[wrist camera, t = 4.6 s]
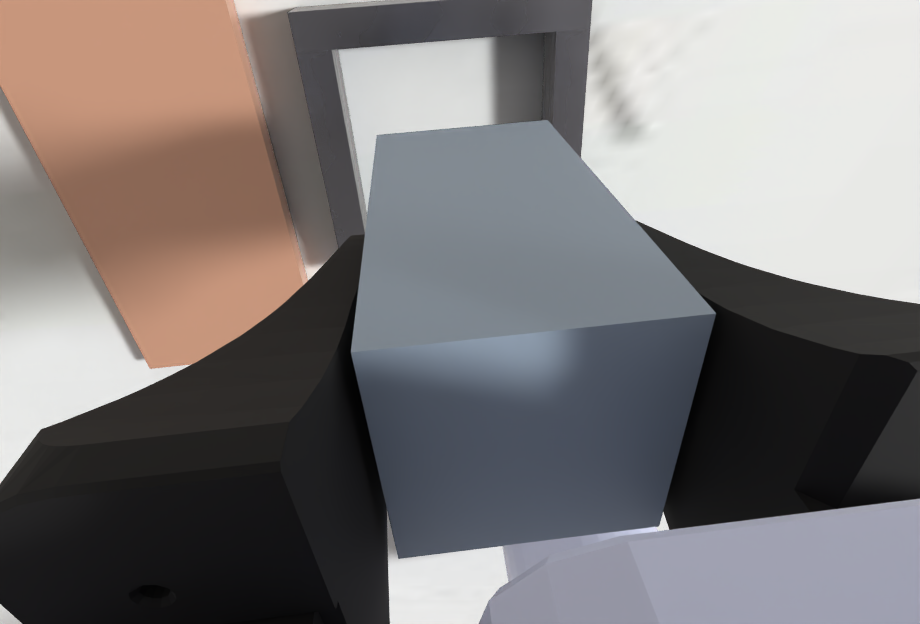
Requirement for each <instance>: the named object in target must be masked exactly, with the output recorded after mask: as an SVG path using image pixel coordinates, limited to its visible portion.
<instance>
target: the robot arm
mask: <svg viewBox="0 0 920 624" xmlns="http://www.w3.org/2000/svg"><path fill="white" fill-rule="evenodd" d="M635 221H636V220H635ZM636 222H637V223H638V224H639V226H640V227H641V228H642V229H643V230H644V231H645V232H646V234H647V235H648V236H649V237H650V238H651V239H652V240H653V242H654V243H655V244H656V245H657V246H658V247H659V248H660V250H661V251H662V252H663V253H664V254H665V255H666V256H667V258H668V259H669V260H670V261H671V262H672V263H673V264H674V266H675V267H676V268H677V269H678V270H679V271H680V273H681V274H682V275H683V276H684V277H685V278H686V279H687V281H688V282H689V283H690V284H691V285H692V286H693V287H694V289H695V290H696V291H697V292H698V293H699V294H700V295H701V297H702V298H703V299H704V300H705V301H706V302H707V303H708V305H709V306H710V307H711V308H712V309H713V310H714V312H715V313H716V316H715V320H714V323H713V327H712V331H711V335H710V338H709V342H708V346H707V349H706V353H705V357H704V361H703V364H702V368H701V372H700V376H699V379H698V383H697V387H696V390H695V394H694V398H693V402H692V405H691V409H690V413H689V416H688V420H687V424H686V428H685V431H684V435H683V439H682V443H681V446H680V450H679V454H678V457H677V461H676V465H675V469H674V472H673V476H672V480H671V483H670V487H669V491H668V495H667V498H666V502H665V506H664V510H663V512H664V515H665V518H666V521H667V524H668V527H669V530H664V531H658V530H657V528H656V527H650V528H642V529H634V530H626V531H618V532H609V533H601V534H593V535H585V536H577V537H569V538H561V539H553V540H545V541H537V542H529V543H521V544H513V545H505V546H503V552H504V558H505V564H506V569H507V575H508V581H509V582H508V583H507V584H505V585H504V586H502V587H501V588H499V590H498V591H497V592H496V593H495V594H494V596H493V597H492V598H491V599H490V600H489V602H488V604H487V606H486V609H485V611H484V613H483V615H482V618H481V620H480V622H479V624H920V304H916V303H909V302H902V301H895V300H889V299H883V298H877V297H872V296H866V295H860V294H855V293H850V292H846V291H841V290H836V289H832V288H827V287H823V286H818V285H813V284H809V283H805V282H801V281H797V280H793V279H789V278H786V277H782V276H779V275H775V274H772V273H769V272H765V271H762V270H759V269H755V268H752V267H749V266H746V265H743V264H740V263H737V262H734V261H731V260H728V259H726V258H723V257H721V256H718V255H715V254H713V253H710V252H707V251H705V250H702V249H700V248H697V247H695V246H693V245H690V244H688V243H685V242H683V241H681V240H678V239H676V238H674V237H672V236H669V235H667V234H665V233H663V232H660V231H658V230H656V229H654V228H651V227H649V226H647V225H645V224H643V223H640V222H638V221H636ZM364 239H365V234H362V235H351V236H350V237H349V238H348V239H347V240H346V241H345V242H344V243H343V244H342V245H341V246H340V248H339V249H338V250H337V251H336V252H335V253H334V254H333V255H332V256H331V258H330V259H329V260H328V261H327V262H326V263H325V264H324V265H323V266H322V267H321V268H320V269H319V270H318V271H317V272H316V273H315V274H314V276H313V277H312V278H311V279H309V280H308V281H307V282H306V283H305V284H304V285H303V286H302V287H301V288H300V289H299V290H298V291H296V292H295V293H294V294H293V295H292V296H291V297H290V298H289V299H288V300H287V301H286V302H285V303H283V304H282V305H281V306H280V307H279V308H277V309H276V310H275V311H274V312H272V313H271V314H270V315H269V316H267V317H266V318H265V319H263V320H262V321H260V322H259V323H258V324H256V325H255V326H254V327H252V328H251V329H249V330H248V331H247V332H245V333H244V334H242V335H241V336H239V337H238V338H236V339H234V340H233V341H231V342H229V343H228V344H226V345H224V346H223V347H221V348H219V349H218V350H216V351H214V352H213V353H211V354H209V355H208V356H206V357H204V358H203V359H201V360H199V361H198V362H196V363H194V364H192V365H190V366H188V367H186V368H184V369H182V370H180V371H178V372H176V373H175V374H173V375H171V376H169V377H167V378H165V379H162V380H160V381H158V382H156V383H154V384H152V385H150V386H148V387H146V388H143V389H141V390H139V391H137V392H135V393H132V394H130V395H128V396H125V397H123V398H121V399H118V400H116V401H113V402H111V403H108V404H106V405H103V406H101V407H98V408H96V409H93V410H91V411H88V412H86V413H83V414H81V415H78V416H76V417H73V418H71V419H68V420H65V421H63V422H60V423H58V424H55V425H52V426H49V427H47V428H44V429H41V430H40V431H39V433H38V434H37V435H36V437H35V438H34V439H33V441H32V442H31V443H30V445H29V446H28V447H27V449H26V450H25V451H24V453H23V454H22V455H21V457H20V458H19V459H18V461H17V462H16V463H15V465H14V466H13V467H12V469H11V470H10V472H9V473H8V474H7V476H6V477H5V478H4V480H3V481H2V482H1V484H0V604H1V605H2V606H3V607H4V608H5V609H7V610H8V611H9V612H10V613H11V614H12V615H13V616H14V617H16V618H17V619H18V620H19V621H20V622H21V623H22V624H390V620H389V586H388V548H387V507H386V502H385V498H384V494H383V489H382V485H381V481H380V476H379V472H378V468H377V463H376V459H375V455H374V451H373V446H372V442H371V438H370V433H369V429H368V425H367V420H366V416H365V412H364V407H363V403H362V399H361V394H360V390H359V386H358V381H357V377H356V373H355V368H354V364H353V360H352V356H351V346H352V338H353V330H354V321H355V313H356V305H357V297H358V288H359V280H360V272H361V263H362V255H363V247H364Z"/></svg>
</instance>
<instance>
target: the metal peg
mask: <svg viewBox="0 0 920 624" xmlns="http://www.w3.org/2000/svg"><path fill="white" fill-rule="evenodd" d="M715 316H716V313H715V312H714V310H713V309H712V308H711V307H710V306H709V305H708V303H707V302H706V301H705V300H704V299H703V298H702V297H701V295H700V294H699V293H698V292H697V291H696V290H695V289H694V287H693V286H692V285H691V284H690V283H689V282H688V281H687V279H686V278H685V277H684V276H683V275H682V274H681V273H680V271H679V270H678V269H677V268H676V267H675V266H674V264H673V263H672V262H671V261H670V260H669V259H668V258H667V256H666V255H665V254H664V253H663V252H662V251H661V250H660V248H659V247H658V246H657V245H656V244H655V243H654V242H653V240H652V239H651V238H650V237H649V236H648V235H647V234H646V232H645V231H644V230H643V229H642V228H641V227H640V226H639V224H638V223H637V222H636V221H635V220H634V219H633V217H632V216H631V215H630V214H629V213H628V212H627V211H626V209H625V208H624V207H623V206H622V205H621V204H620V203H619V201H618V200H617V199H616V198H615V197H614V196H613V195H612V193H611V192H610V191H609V190H608V189H607V188H606V187H605V185H604V184H603V183H602V182H601V181H600V180H599V179H598V177H597V176H596V175H595V174H594V173H593V172H592V170H591V169H590V168H589V167H588V166H587V165H586V164H585V162H584V161H583V160H582V159H581V158H580V157H579V156H578V154H577V153H576V152H575V151H574V150H573V149H572V148H571V146H570V145H569V144H568V143H567V142H566V141H565V140H564V138H563V137H562V136H561V135H560V134H559V133H558V132H557V130H556V129H555V128H554V127H553V126H552V125H551V123H550V122H549V121H548V120H541V121H530V122H519V123H508V124H496V125H485V126H474V127H462V128H451V129H440V130H429V131H417V132H406V133H395V134H383V135H377V139H376V147H375V156H374V164H373V172H372V180H371V189H370V197H369V205H368V214H367V222H366V230H365V239H364V247H363V255H362V263H361V272H360V280H359V288H358V297H357V305H356V313H355V321H354V330H353V338H352V346H351V356H352V360H353V364H354V368H355V373H356V377H357V381H358V386H359V390H360V394H361V399H362V403H363V407H364V412H365V416H366V420H367V425H368V429H369V433H370V438H371V442H372V446H373V451H374V455H375V459H376V463H377V468H378V472H379V476H380V481H381V485H382V489H383V494H384V498H385V502H386V507H387V511H388V515H389V520H390V524H391V528H392V533H393V537H394V541H395V546H396V550H397V554H398V558H399V559H400V558H408V557H416V556H424V555H432V554H440V553H448V552H456V551H465V550H473V549H481V548H489V547H497V546H505V545H513V544H521V543H529V542H537V541H545V540H553V539H561V538H569V537H577V536H585V535H593V534H601V533H609V532H618V531H626V530H634V529H642V528H650V527H658V526H659V524H660V521H661V517H662V513H663V510H664V506H665V502H666V498H667V495H668V491H669V487H670V483H671V480H672V476H673V472H674V469H675V465H676V461H677V457H678V454H679V450H680V446H681V443H682V439H683V435H684V431H685V428H686V424H687V420H688V416H689V413H690V409H691V405H692V402H693V398H694V394H695V390H696V387H697V383H698V379H699V376H700V372H701V368H702V364H703V361H704V357H705V353H706V349H707V346H708V342H709V338H710V335H711V331H712V327H713V323H714V320H715Z"/></svg>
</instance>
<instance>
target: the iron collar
mask: <svg viewBox="0 0 920 624" xmlns="http://www.w3.org/2000/svg"><path fill="white" fill-rule="evenodd" d="M591 11H592V0H385V1H372V2H359V3H346V4H333V5H320V6H308V7H296V8H294V9H293V10H291V11H289V12H288V17H289V21H290V26H291V31H292V35H293V40H294V44H295V49H296V54H297V58H298V63H299V67H300V72H301V77H302V81H303V86H304V91H305V95H306V100H307V104H308V109H309V114H310V118H311V123H312V127H313V132H314V137H315V141H316V146H317V150H318V155H319V160H320V164H321V169H322V173H323V178H324V183H325V187H326V192H327V196H328V201H329V206H330V210H331V215H332V219H333V224H334V229H335V233H336V238H337V242H338V247H339V248H340V246H341V245H342V244H343V243H344V242H345V241H346V240H347V239H348V238H349V237H350V236H351V235H362V234H365V230H366V222H367V212H366V206H365V201H364V195H363V189H362V184H361V178H360V172H359V166H358V161H357V155H356V149H355V144H354V138H353V132H352V126H351V121H350V115H349V109H348V104H347V98H346V92H345V87H344V81H343V75H342V69H341V64H340V58H339V52H338V49H348V48H360V47H373V46H385V45H397V44H409V43H422V42H434V41H446V40H459V39H471V38H483V37H495V36H508V35H520V34H532V33H544V63H543V98H542V120H548V121H549V122H550V123H551V125H552V126H553V127H554V128H555V129H556V130H557V132H558V133H559V134H560V135H561V136H562V137H563V138H564V140H565V141H566V142H567V143H568V144H569V145H570V146H571V148H572V149H573V150H574V151H575V152H576V153H577V154H578V156H579V157H580V158H581V147H582V133H583V120H584V106H585V93H586V79H587V65H588V52H589V38H590V24H591Z"/></svg>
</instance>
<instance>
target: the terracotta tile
mask: <svg viewBox="0 0 920 624" xmlns="http://www.w3.org/2000/svg"><path fill="white" fill-rule="evenodd" d="M0 86H1V88H2V90H3V92H4V94H5V96H6V97H7V99H8V101H9V103H10V105H11V107H12V109H13V111H14V113H15V115H16V116H17V118H18V120H19V122H20V124H21V126H22V128H23V130H24V132H25V133H26V135H27V137H28V139H29V141H30V143H31V145H32V147H33V149H34V150H35V152H36V154H37V156H38V158H39V160H40V162H41V164H42V166H43V167H44V169H45V171H46V173H47V175H48V177H49V179H50V181H51V183H52V184H53V186H54V188H55V190H56V192H57V194H58V196H59V198H60V200H61V201H62V203H63V205H64V207H65V209H66V211H67V213H68V215H69V217H70V218H71V220H72V222H73V224H74V226H75V228H76V230H77V232H78V234H79V235H80V237H81V239H82V241H83V243H84V245H85V247H86V249H87V251H88V253H89V254H90V256H91V258H92V260H93V262H94V264H95V266H96V268H97V270H98V271H99V273H100V275H101V277H102V279H103V281H104V283H105V285H106V287H107V288H108V290H109V292H110V294H111V296H112V298H113V300H114V302H115V304H116V305H117V307H118V309H119V311H120V313H121V315H122V317H123V319H124V321H125V322H126V324H127V326H128V328H129V330H130V332H131V334H132V336H133V338H134V339H135V341H136V343H137V345H138V347H139V349H140V351H141V353H142V355H143V356H144V358H145V360H146V362H147V364H148V366H149V368H150V369H152V368H161V367H171V366H180V365H189V364H194V363H196V362H198V361H199V360H201V359H203V358H204V357H206V356H208V355H209V354H211V353H213V352H214V351H216V350H218V349H219V348H221V347H223V346H224V345H226V344H228V343H229V342H231V341H233V340H234V339H236V338H238V337H239V336H241V335H242V334H244V333H245V332H247V331H248V330H249V329H251V328H252V327H254V326H255V325H256V324H258V323H259V322H260V321H262V320H263V319H265V318H266V317H267V316H269V315H270V314H271V313H272V312H274V311H275V310H276V309H277V308H279V307H280V306H281V305H282V304H283V303H285V302H286V301H287V300H288V299H289V298H290V297H291V296H292V295H293V294H294V293H295V292H296V291H298V290H299V289H300V288H301V287H302V286H303V285H304V284H305V283H306V282H307V281H308V279H307V275H306V271H305V267H304V264H303V260H302V256H301V252H300V249H299V245H298V241H297V237H296V234H295V230H294V226H293V222H292V219H291V215H290V211H289V207H288V203H287V200H286V196H285V192H284V188H283V185H282V181H281V177H280V173H279V170H278V166H277V162H276V158H275V155H274V151H273V147H272V143H271V140H270V136H269V132H268V128H267V124H266V121H265V117H264V113H263V109H262V106H261V102H260V98H259V94H258V91H257V87H256V83H255V79H254V76H253V72H252V68H251V64H250V61H249V57H248V53H247V49H246V45H245V42H244V38H243V34H242V30H241V27H240V23H239V19H238V15H237V12H236V8H235V4H234V0H0Z"/></svg>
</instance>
